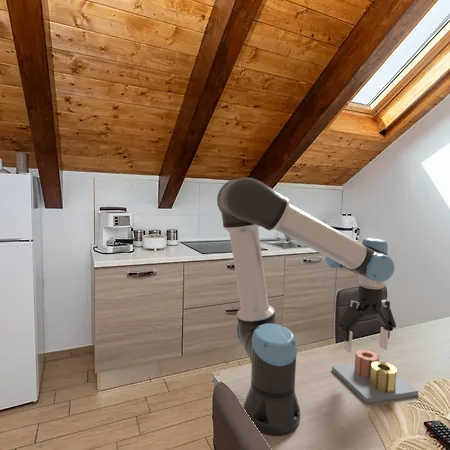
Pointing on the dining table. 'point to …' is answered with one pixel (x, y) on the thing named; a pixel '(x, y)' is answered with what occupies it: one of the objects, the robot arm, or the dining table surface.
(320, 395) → the dining table surface
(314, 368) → the dining table surface
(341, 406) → the dining table surface
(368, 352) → the gear red
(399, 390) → the peg board
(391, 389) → the gear brass
